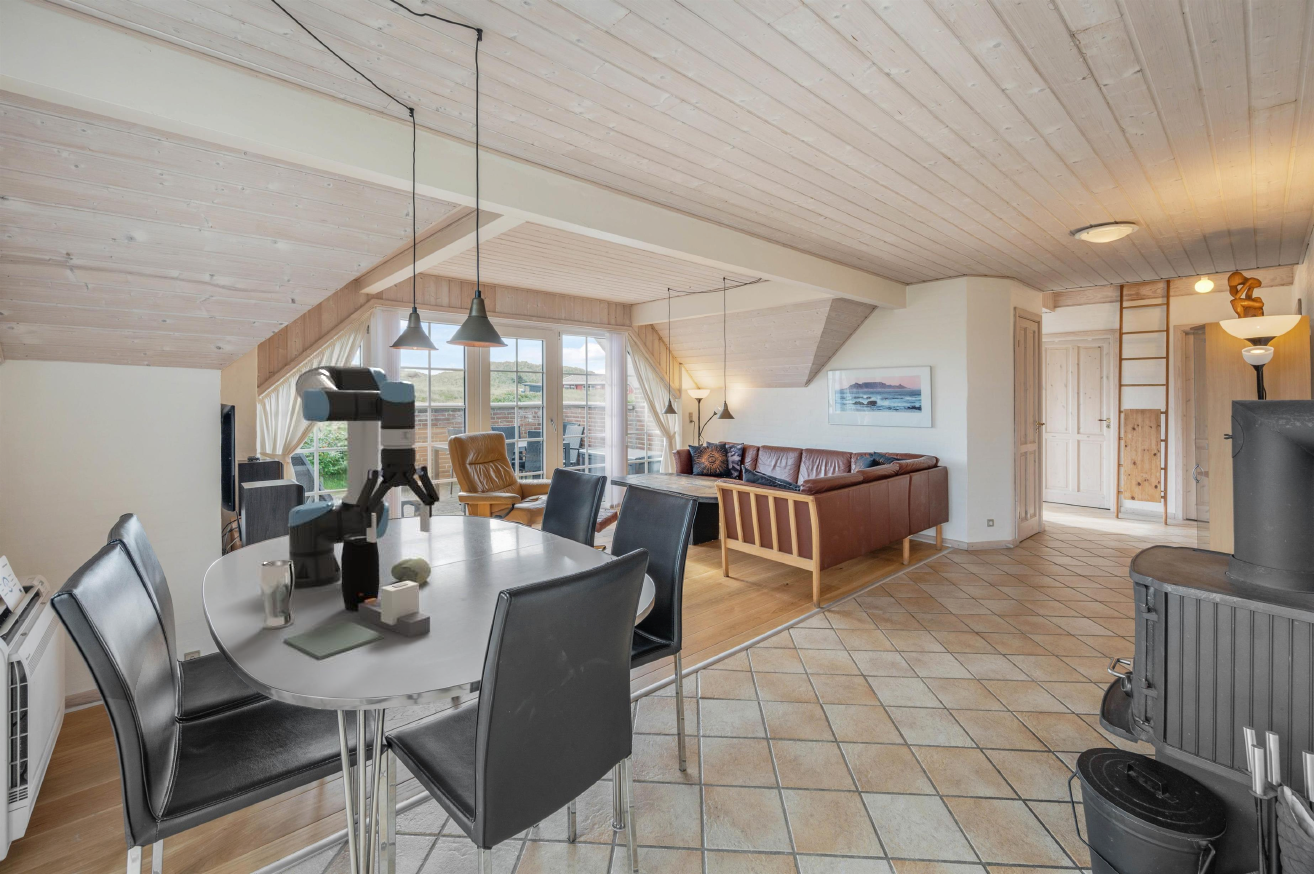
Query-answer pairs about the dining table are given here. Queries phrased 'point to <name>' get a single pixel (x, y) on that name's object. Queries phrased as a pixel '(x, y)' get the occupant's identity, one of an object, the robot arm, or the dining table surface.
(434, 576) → the dining table surface
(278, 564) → the beer glass
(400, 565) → the seashell
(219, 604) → the dining table surface
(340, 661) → the dining table surface
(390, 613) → the block
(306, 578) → the robot arm
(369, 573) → the portable speaker
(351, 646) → the mat
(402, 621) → the power strip
